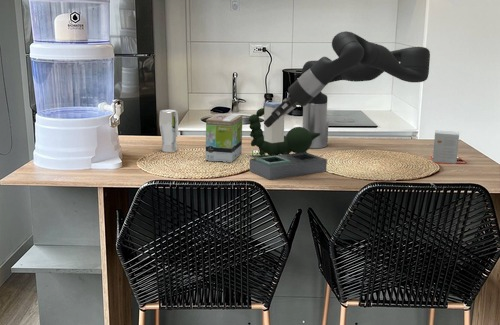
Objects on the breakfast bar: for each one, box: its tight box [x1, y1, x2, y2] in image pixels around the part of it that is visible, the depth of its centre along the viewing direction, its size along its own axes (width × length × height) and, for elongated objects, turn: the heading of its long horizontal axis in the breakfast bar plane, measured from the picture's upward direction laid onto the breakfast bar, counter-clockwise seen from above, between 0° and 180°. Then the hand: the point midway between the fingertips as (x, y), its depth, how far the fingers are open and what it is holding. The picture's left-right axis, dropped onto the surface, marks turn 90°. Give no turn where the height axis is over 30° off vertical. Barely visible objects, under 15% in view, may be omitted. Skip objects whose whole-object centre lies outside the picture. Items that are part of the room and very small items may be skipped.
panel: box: [249, 151, 328, 181], centre depth 178 cm, size 22×12×5 cm, turn 121°
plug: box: [263, 101, 285, 143], centre depth 172 cm, size 5×5×12 cm
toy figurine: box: [248, 107, 320, 156], centre depth 196 cm, size 9×19×25 cm
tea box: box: [204, 113, 243, 163], centre depth 195 cm, size 15×10×15 cm, turn 168°
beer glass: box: [158, 109, 179, 153], centre depth 204 cm, size 7×7×15 cm
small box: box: [432, 129, 460, 165], centre depth 194 cm, size 8×6×10 cm
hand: (269, 123), depth 172 cm, fingers closed on plug, 6 cm apart
